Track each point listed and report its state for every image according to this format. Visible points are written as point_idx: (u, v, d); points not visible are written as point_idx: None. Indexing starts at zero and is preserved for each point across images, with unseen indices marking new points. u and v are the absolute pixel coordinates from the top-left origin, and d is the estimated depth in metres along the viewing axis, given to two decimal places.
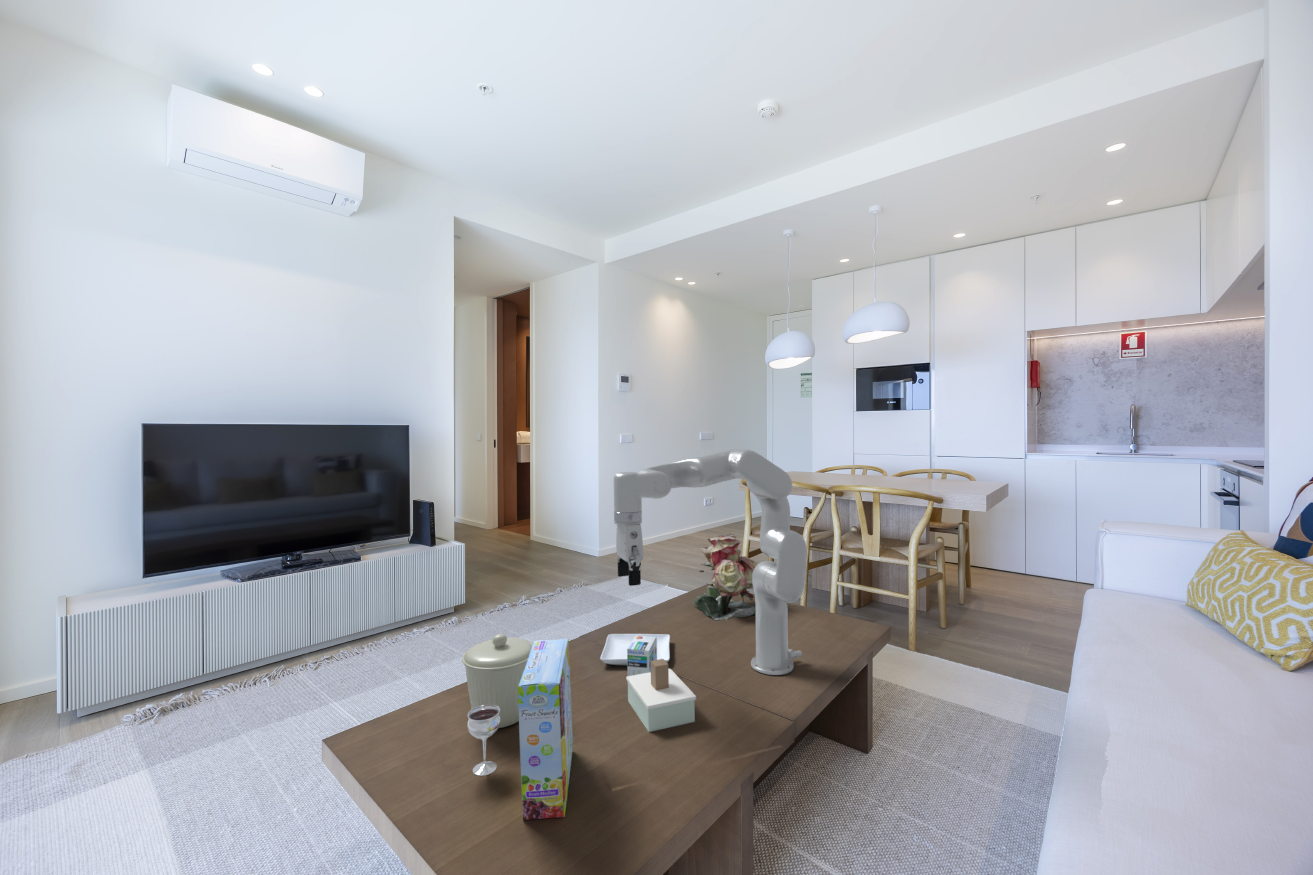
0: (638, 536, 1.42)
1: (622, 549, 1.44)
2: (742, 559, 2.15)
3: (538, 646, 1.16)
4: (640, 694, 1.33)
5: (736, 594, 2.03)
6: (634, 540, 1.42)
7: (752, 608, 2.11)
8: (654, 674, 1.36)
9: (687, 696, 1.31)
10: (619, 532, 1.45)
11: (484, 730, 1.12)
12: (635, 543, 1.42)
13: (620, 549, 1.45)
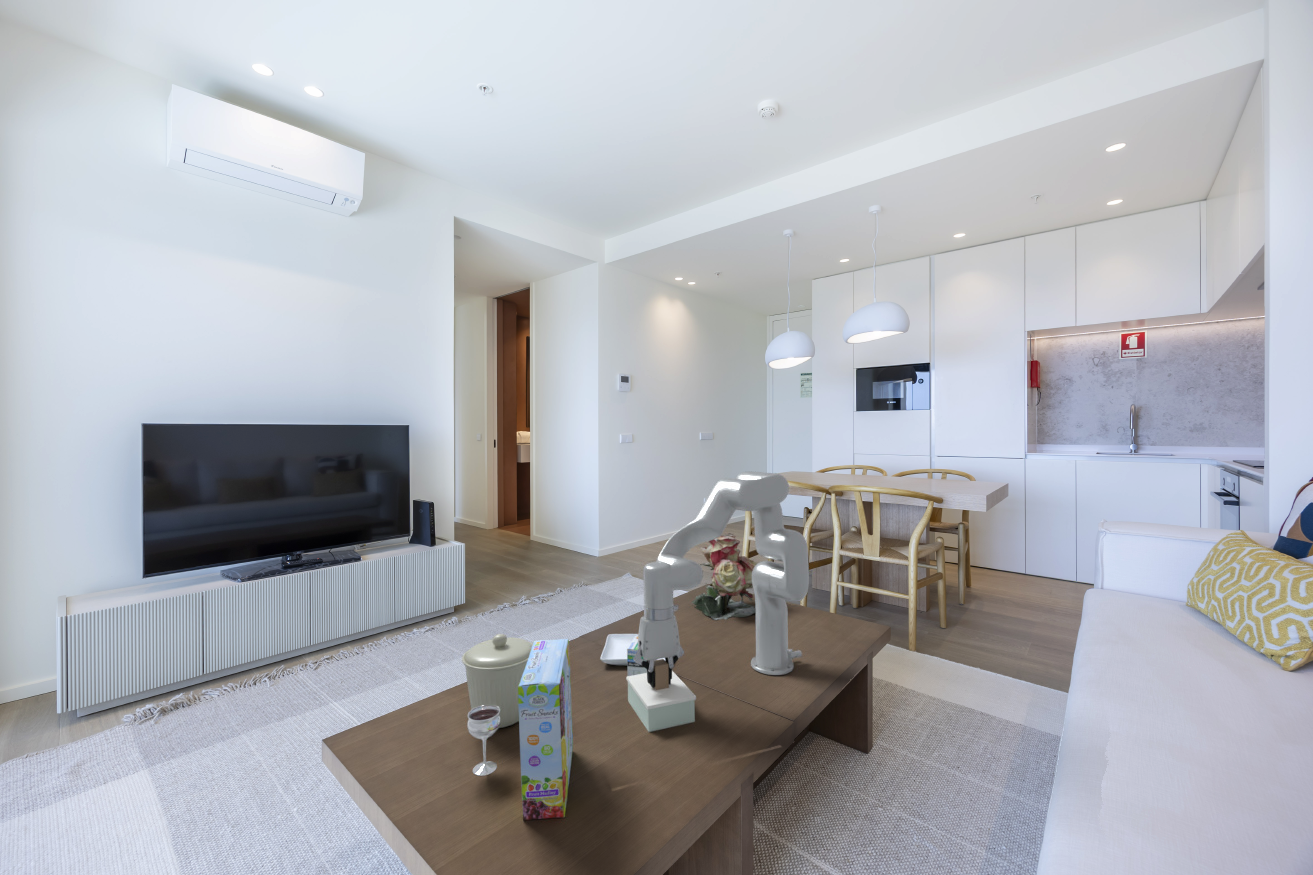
0: None
1: (669, 646, 1.35)
2: (741, 559, 2.16)
3: (538, 646, 1.16)
4: (640, 694, 1.33)
5: (735, 594, 2.04)
6: None
7: (751, 608, 2.11)
8: None
9: (687, 696, 1.31)
10: (662, 630, 1.35)
11: (484, 730, 1.12)
12: None
13: (665, 647, 1.35)
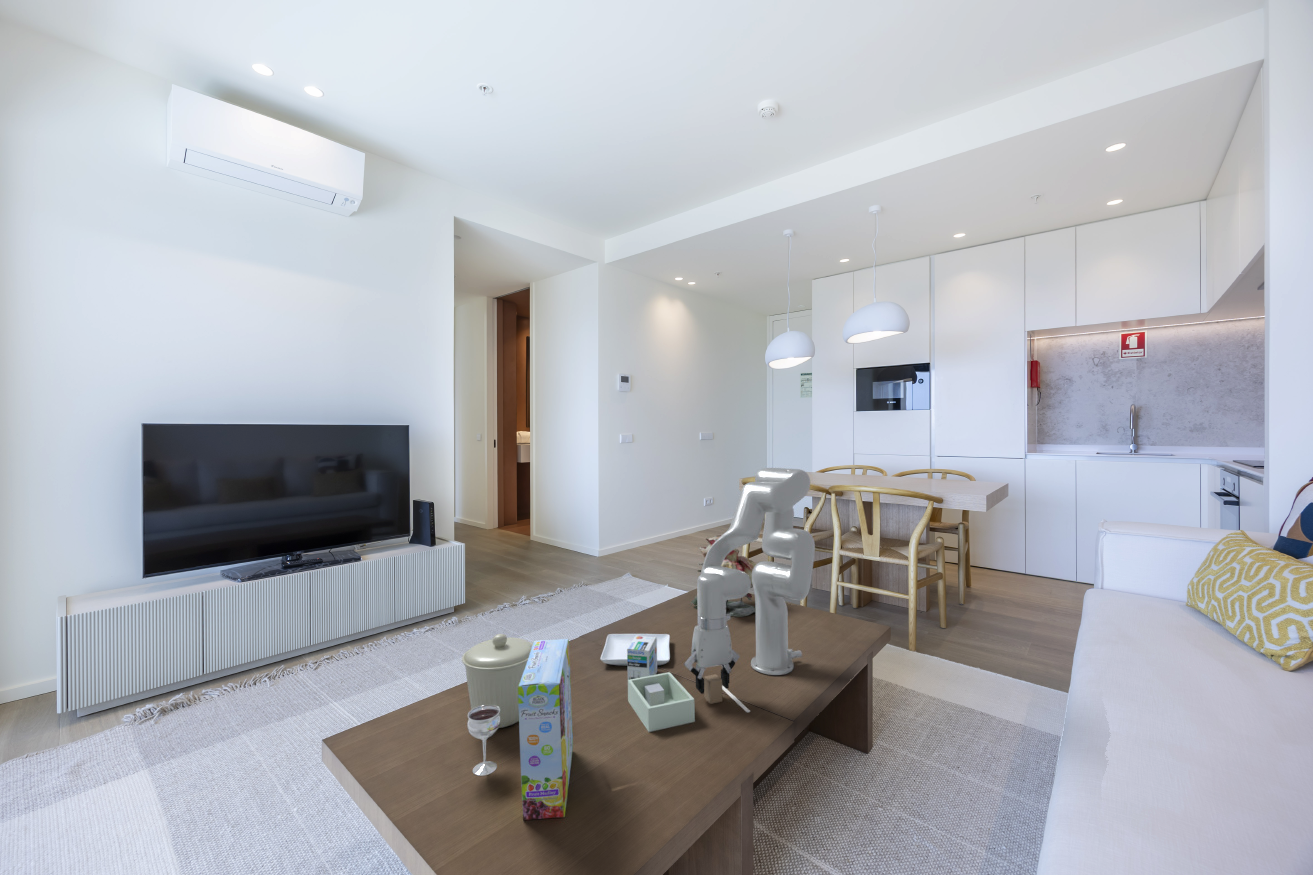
0: None
1: (722, 654, 1.41)
2: (740, 559, 2.16)
3: (538, 646, 1.16)
4: None
5: None
6: None
7: (750, 608, 2.12)
8: (708, 690, 1.41)
9: None
10: (716, 639, 1.40)
11: (484, 730, 1.12)
12: None
13: (718, 656, 1.40)
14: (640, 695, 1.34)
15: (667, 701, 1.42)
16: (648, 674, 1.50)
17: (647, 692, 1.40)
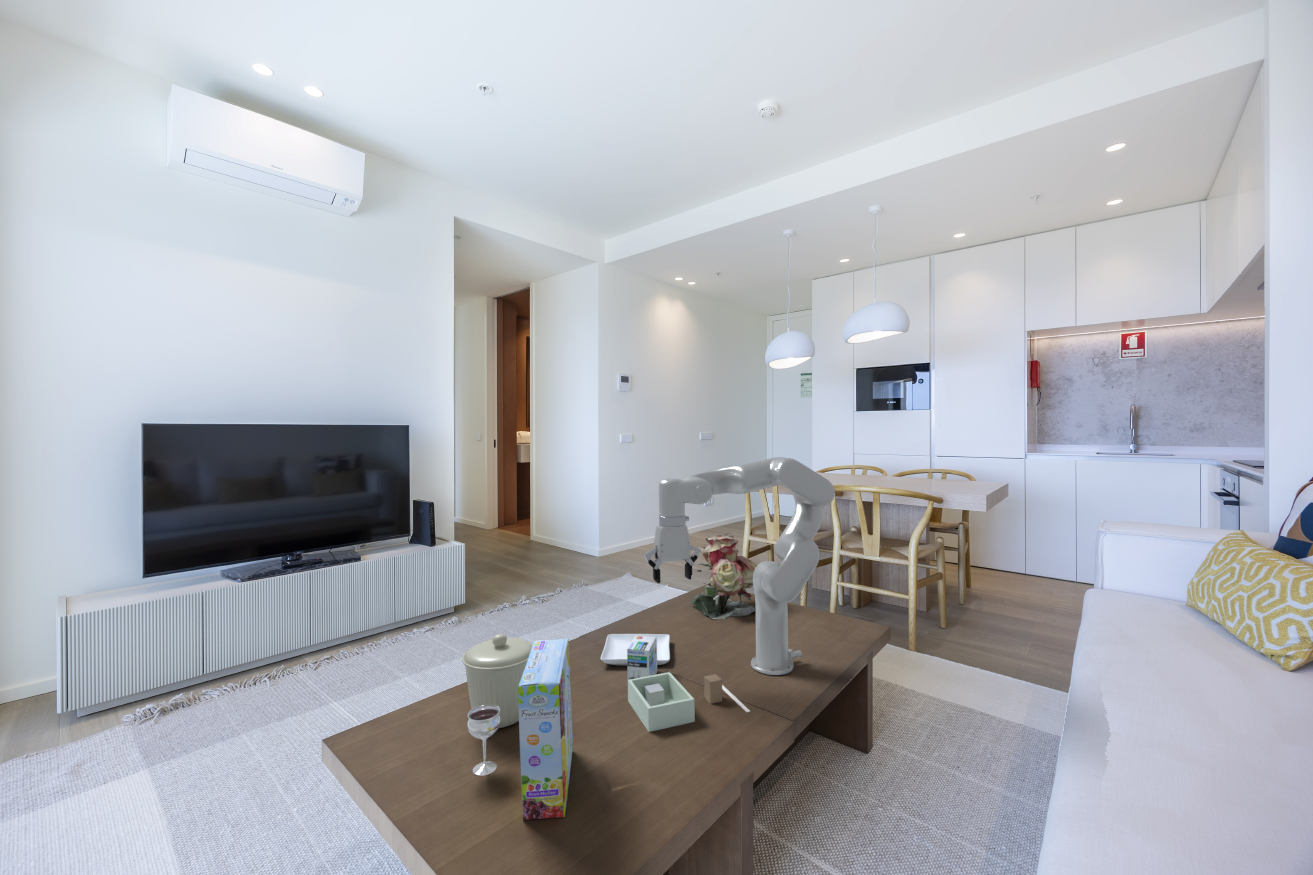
0: None
1: (681, 550, 1.55)
2: (739, 559, 2.16)
3: (538, 646, 1.16)
4: None
5: (734, 593, 2.04)
6: None
7: (750, 607, 2.12)
8: (708, 690, 1.41)
9: None
10: (675, 536, 1.54)
11: (484, 730, 1.12)
12: None
13: (677, 551, 1.55)
14: (640, 695, 1.34)
15: (667, 701, 1.42)
16: (648, 674, 1.50)
17: (647, 692, 1.40)
